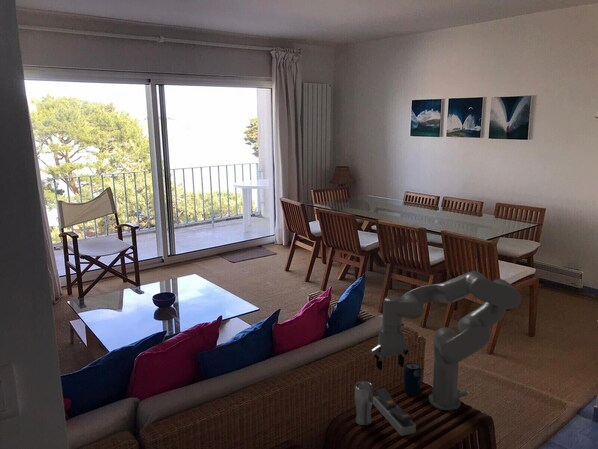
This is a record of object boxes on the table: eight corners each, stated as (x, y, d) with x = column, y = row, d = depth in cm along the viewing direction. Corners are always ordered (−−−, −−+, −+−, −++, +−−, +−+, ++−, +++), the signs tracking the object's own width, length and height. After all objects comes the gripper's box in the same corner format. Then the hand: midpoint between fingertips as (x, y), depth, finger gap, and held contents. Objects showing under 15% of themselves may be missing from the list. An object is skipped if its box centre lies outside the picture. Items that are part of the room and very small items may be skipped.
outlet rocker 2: (399, 410, 186) (399, 406, 186) (413, 419, 177) (412, 416, 177) (390, 411, 185) (389, 408, 185) (403, 421, 175) (403, 418, 175)
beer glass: (372, 427, 181) (372, 390, 178) (353, 425, 182) (353, 389, 180) (373, 417, 188) (373, 381, 185) (355, 415, 189) (355, 380, 186)
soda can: (422, 395, 203) (423, 368, 201) (406, 396, 202) (407, 370, 200) (416, 386, 210) (417, 361, 207) (401, 388, 209) (402, 362, 207)
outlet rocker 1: (384, 390, 197) (384, 387, 197) (396, 406, 188) (396, 404, 188) (375, 392, 196) (376, 389, 196) (387, 408, 187) (387, 406, 187)
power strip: (372, 403, 197) (372, 396, 197) (385, 401, 199) (386, 394, 198) (401, 436, 176) (401, 428, 175) (415, 432, 177) (415, 425, 177)
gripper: (406, 321, 198) (404, 360, 201) (368, 326, 193) (366, 366, 196) (415, 328, 191) (413, 368, 194) (376, 333, 186) (375, 374, 189)
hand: (390, 367), depth 195 cm, fingers open, 9 cm apart
